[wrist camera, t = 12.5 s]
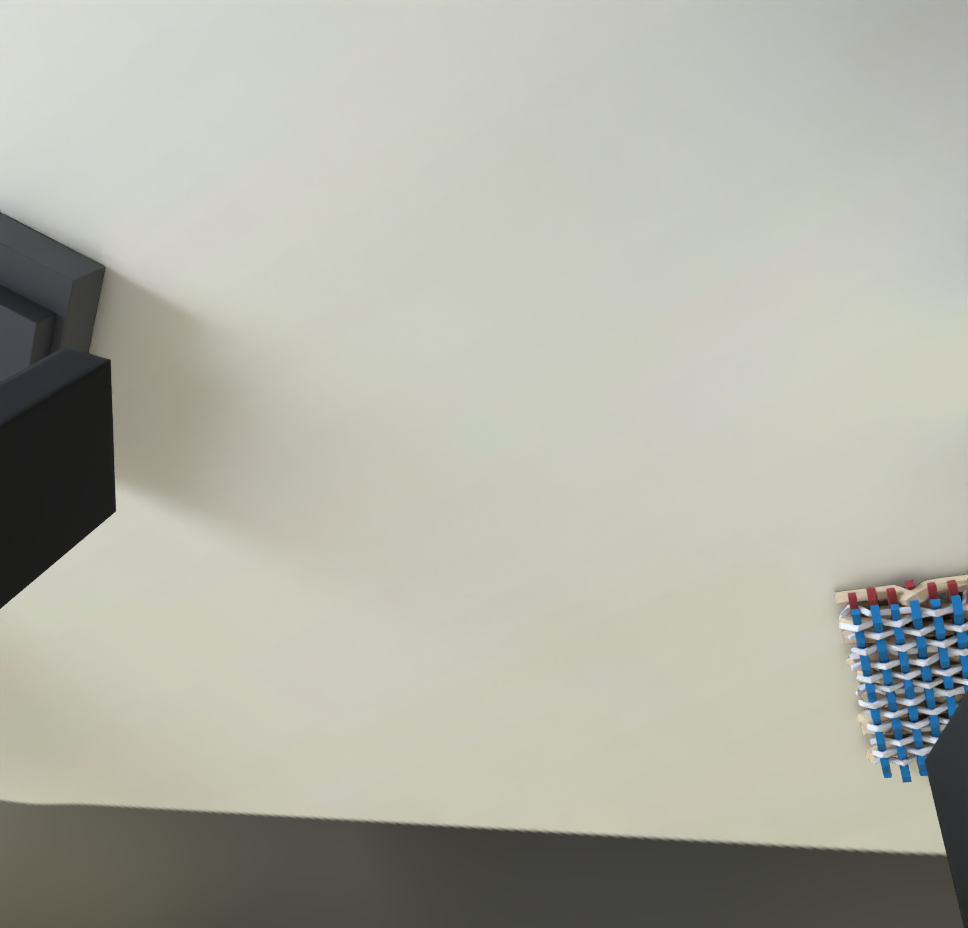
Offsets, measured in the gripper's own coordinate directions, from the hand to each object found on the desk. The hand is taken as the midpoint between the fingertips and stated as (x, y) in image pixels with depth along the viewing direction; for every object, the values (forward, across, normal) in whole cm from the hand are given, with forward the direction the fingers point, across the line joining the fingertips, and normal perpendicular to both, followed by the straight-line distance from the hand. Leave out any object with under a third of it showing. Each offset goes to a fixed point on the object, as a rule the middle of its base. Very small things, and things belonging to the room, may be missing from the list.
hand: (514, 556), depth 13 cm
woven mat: (+26, +19, -16) cm, 36 cm away
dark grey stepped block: (+25, -28, -14) cm, 40 cm away
